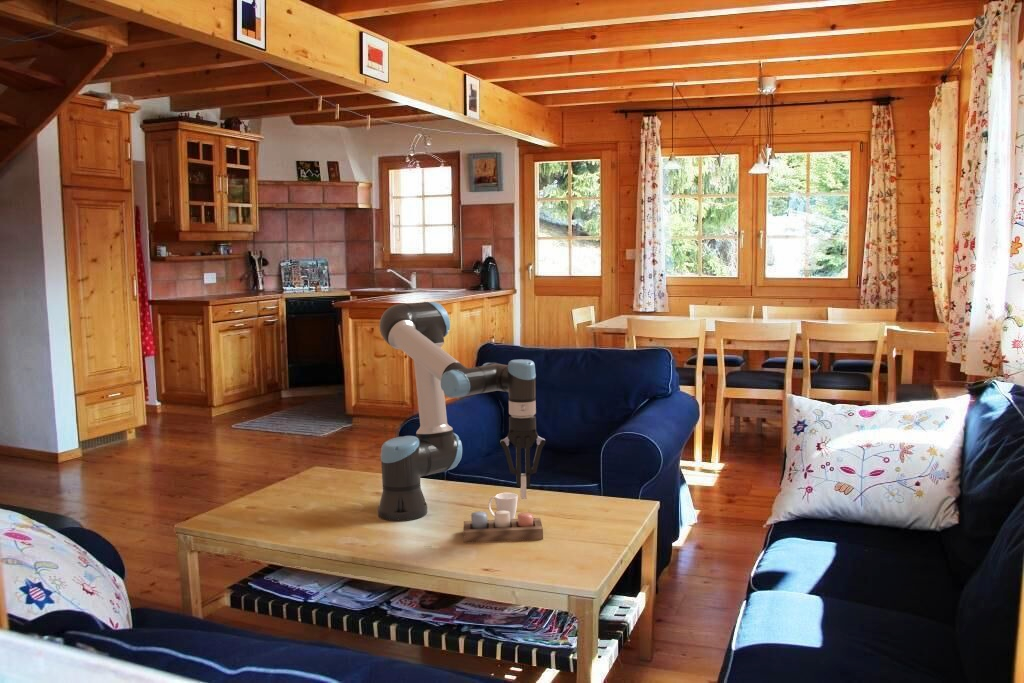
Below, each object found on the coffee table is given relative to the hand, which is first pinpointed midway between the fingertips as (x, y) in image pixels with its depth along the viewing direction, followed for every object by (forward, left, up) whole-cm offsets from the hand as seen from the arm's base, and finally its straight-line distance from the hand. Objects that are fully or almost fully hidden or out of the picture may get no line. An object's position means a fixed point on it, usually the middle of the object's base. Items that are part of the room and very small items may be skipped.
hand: (523, 497), depth 246 cm
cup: (-13, +5, -11) cm, 17 cm away
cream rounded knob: (-4, -5, -8) cm, 10 cm away
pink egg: (+1, 0, -9) cm, 9 cm away
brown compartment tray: (-4, -5, -11) cm, 12 cm away
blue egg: (-9, -9, -8) cm, 15 cm away
